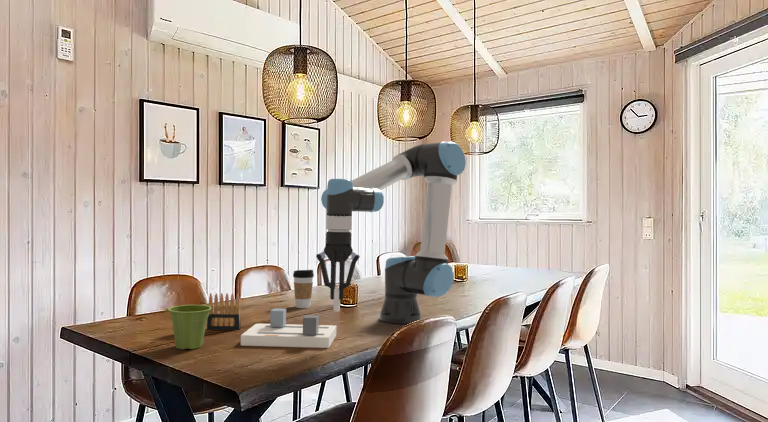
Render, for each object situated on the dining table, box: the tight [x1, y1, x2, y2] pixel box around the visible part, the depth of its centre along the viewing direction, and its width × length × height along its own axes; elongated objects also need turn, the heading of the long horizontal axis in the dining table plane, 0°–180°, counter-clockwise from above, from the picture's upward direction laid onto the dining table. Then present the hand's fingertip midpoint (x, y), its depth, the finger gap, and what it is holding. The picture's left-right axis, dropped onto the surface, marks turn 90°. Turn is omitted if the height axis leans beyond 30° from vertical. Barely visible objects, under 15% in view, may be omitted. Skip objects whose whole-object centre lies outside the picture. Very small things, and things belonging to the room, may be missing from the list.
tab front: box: [302, 314, 320, 335], centre depth 162 cm, size 4×4×5 cm
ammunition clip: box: [206, 292, 242, 331], centre depth 180 cm, size 11×2×12 cm, turn 93°
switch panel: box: [240, 323, 337, 349], centre depth 167 cm, size 26×16×3 cm, turn 87°
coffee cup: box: [292, 269, 315, 309], centre depth 221 cm, size 8×8×15 cm
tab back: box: [269, 308, 287, 327], centre depth 172 cm, size 4×4×5 cm
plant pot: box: [168, 304, 212, 350], centre depth 157 cm, size 12×12×11 cm
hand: (336, 310), depth 161 cm, fingers closed
